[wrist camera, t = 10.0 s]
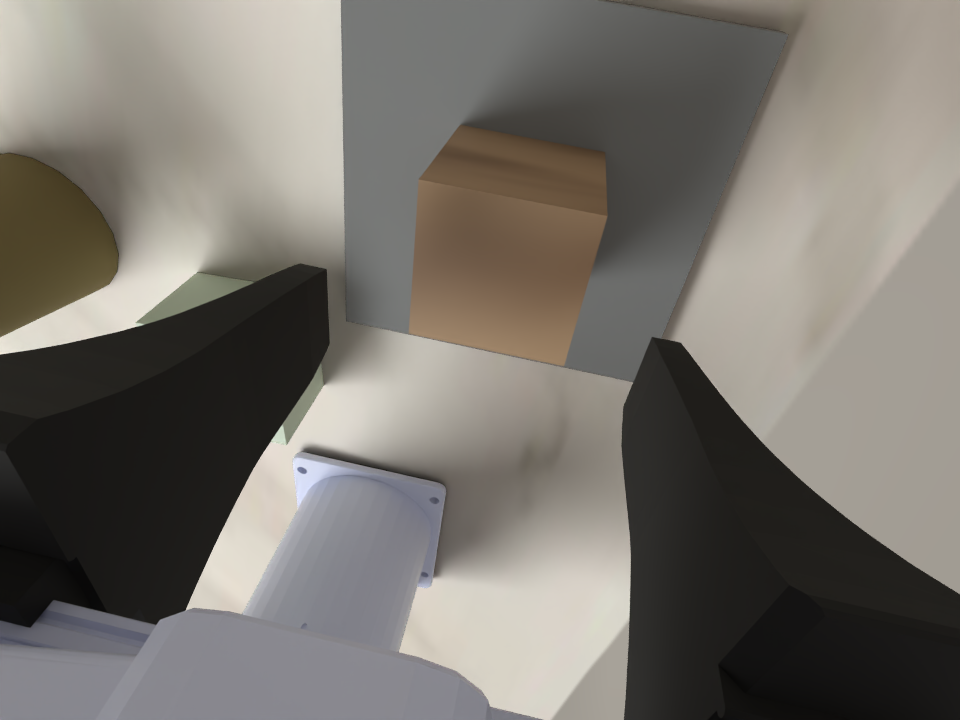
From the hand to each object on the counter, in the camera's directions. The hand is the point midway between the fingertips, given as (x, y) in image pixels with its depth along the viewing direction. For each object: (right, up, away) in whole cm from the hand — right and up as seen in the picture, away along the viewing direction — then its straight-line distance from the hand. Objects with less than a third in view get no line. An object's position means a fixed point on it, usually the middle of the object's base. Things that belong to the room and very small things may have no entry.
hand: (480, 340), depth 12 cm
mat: (+1, +5, +6) cm, 8 cm away
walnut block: (+1, +5, +6) cm, 8 cm away
